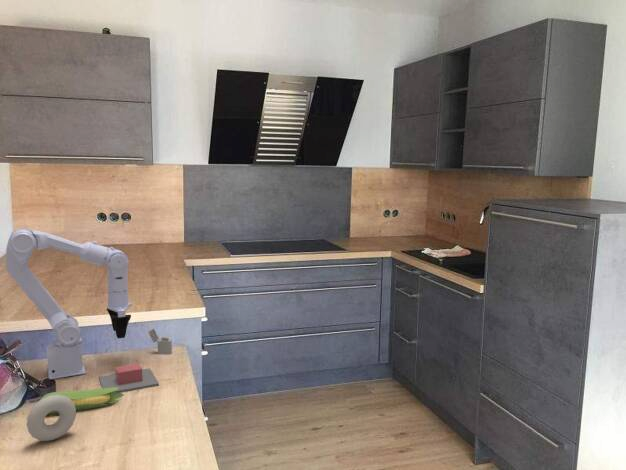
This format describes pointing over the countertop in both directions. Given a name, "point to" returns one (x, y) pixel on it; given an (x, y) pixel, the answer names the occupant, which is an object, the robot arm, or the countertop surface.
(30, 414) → the donut
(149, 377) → the mat
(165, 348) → the lighter
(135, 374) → the pink rectangular block
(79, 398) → the edible corn
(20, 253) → the robot arm
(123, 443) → the countertop surface
